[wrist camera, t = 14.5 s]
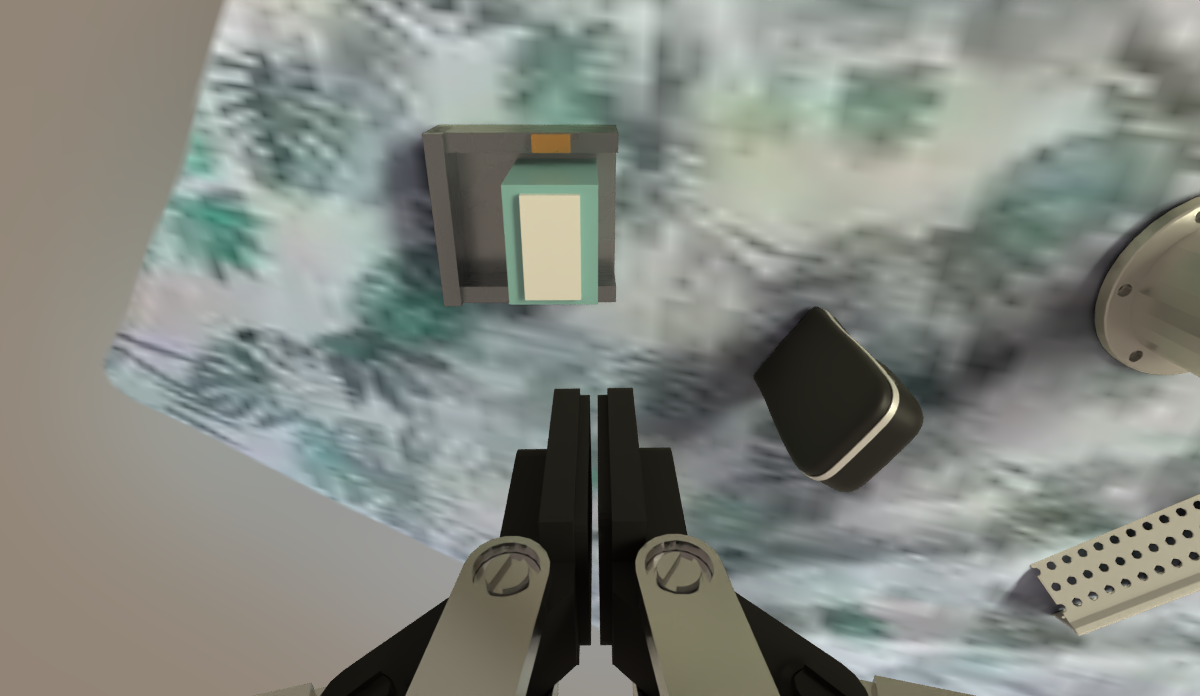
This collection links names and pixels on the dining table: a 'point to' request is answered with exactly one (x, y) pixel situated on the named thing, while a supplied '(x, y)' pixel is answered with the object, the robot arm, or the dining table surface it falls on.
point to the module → (551, 231)
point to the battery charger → (836, 404)
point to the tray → (474, 200)
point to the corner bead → (1127, 570)
